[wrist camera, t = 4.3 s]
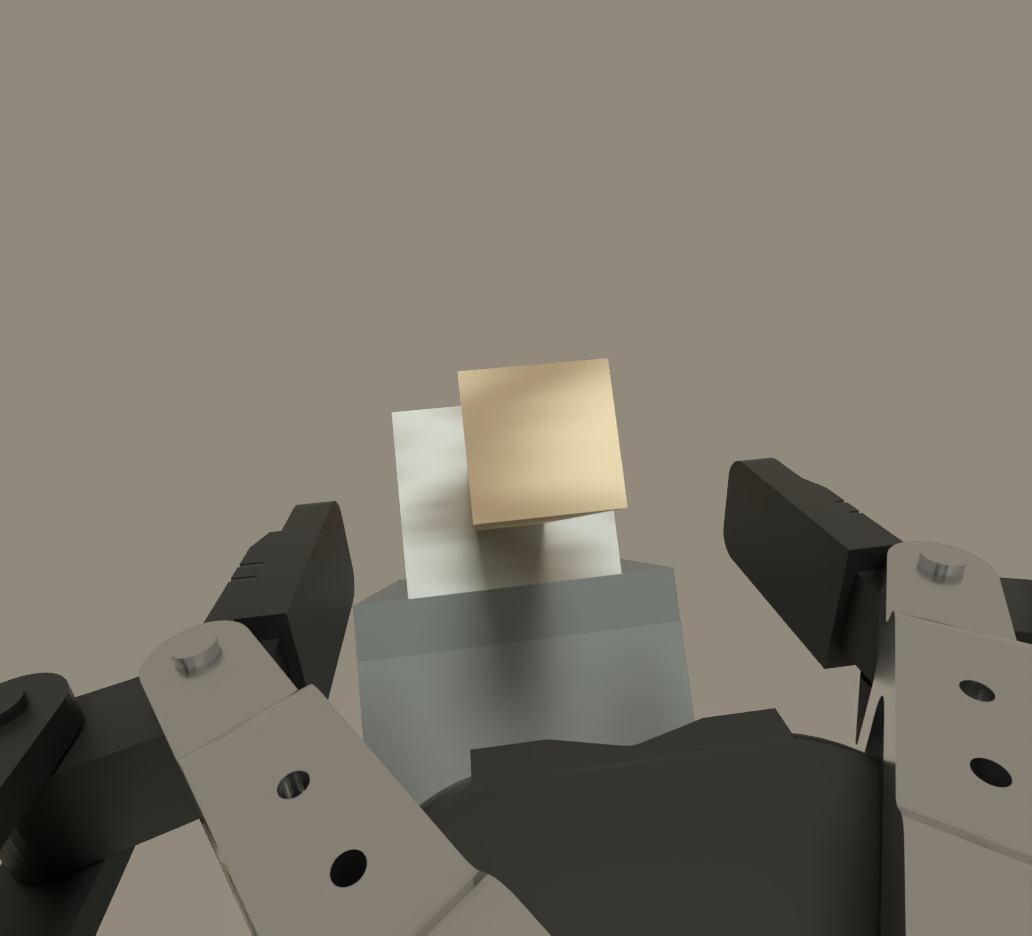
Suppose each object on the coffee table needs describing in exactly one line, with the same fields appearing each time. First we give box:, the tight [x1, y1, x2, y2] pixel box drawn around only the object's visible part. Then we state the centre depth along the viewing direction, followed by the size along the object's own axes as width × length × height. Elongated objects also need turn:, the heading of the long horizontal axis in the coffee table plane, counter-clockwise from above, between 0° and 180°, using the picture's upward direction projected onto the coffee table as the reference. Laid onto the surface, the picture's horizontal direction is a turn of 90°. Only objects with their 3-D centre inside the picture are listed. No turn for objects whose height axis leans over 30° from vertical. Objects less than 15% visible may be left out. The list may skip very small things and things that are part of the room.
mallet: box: [392, 358, 627, 599], centre depth 19 cm, size 8×20×7 cm, turn 4°
